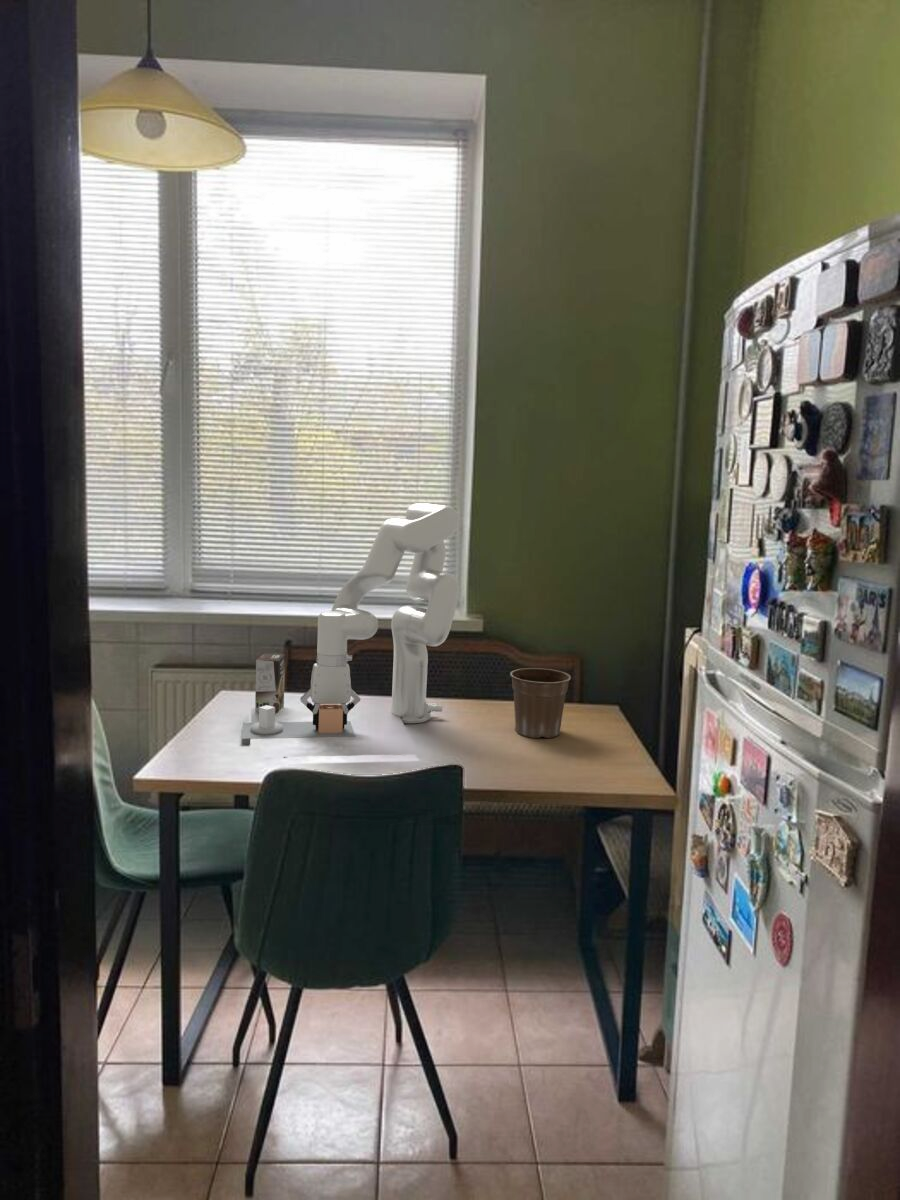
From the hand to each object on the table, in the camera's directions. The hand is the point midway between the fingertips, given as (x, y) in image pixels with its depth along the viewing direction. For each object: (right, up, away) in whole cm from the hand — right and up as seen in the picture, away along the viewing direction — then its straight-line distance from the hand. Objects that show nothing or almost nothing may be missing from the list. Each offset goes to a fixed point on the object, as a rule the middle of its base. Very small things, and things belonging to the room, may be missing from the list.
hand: (329, 726), depth 226 cm
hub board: (-8, -2, -1) cm, 8 cm away
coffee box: (-19, +1, +16) cm, 25 cm away
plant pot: (+55, -3, +12) cm, 56 cm away
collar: (0, -1, 0) cm, 1 cm away
